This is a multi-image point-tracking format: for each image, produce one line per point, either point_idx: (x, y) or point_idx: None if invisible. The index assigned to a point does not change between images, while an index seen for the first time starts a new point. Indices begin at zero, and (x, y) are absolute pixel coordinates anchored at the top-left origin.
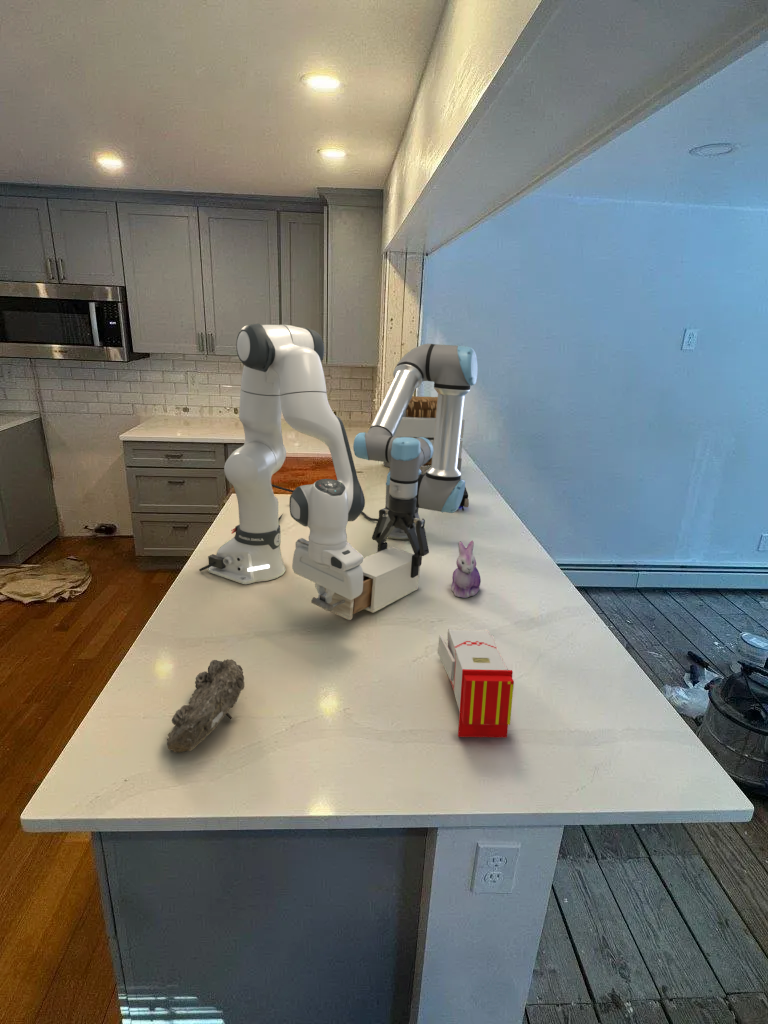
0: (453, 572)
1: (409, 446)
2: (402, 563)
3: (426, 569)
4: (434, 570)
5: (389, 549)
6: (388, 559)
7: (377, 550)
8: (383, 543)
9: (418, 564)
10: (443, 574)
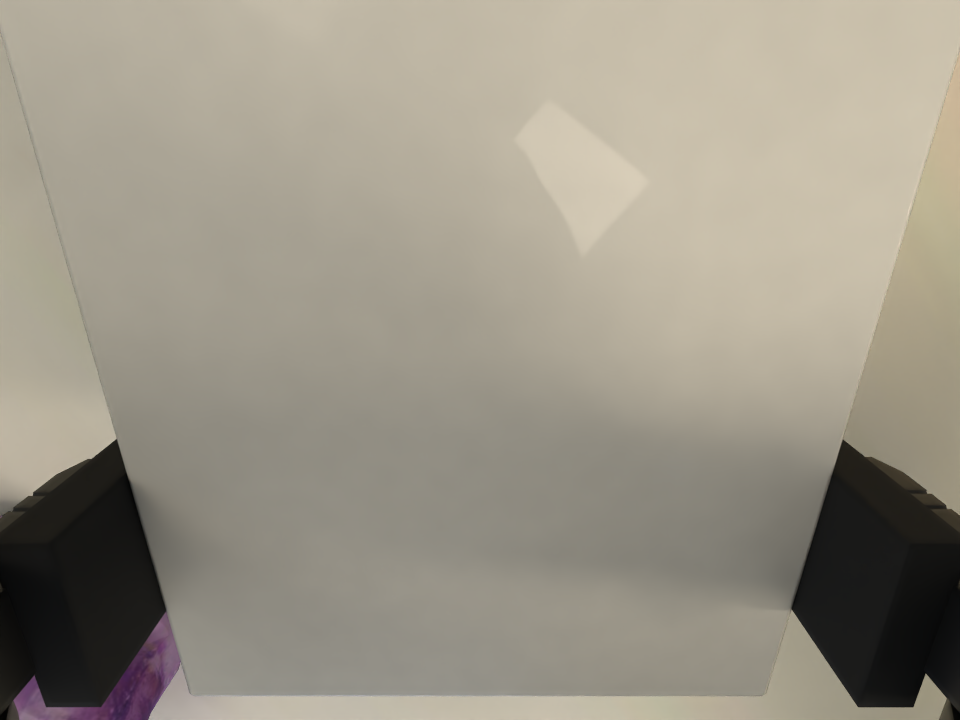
0: (100, 715)
1: None
2: (103, 228)
3: (480, 696)
4: (427, 715)
5: (732, 597)
6: (456, 180)
7: (914, 483)
8: (919, 638)
9: (48, 486)
10: (343, 705)
